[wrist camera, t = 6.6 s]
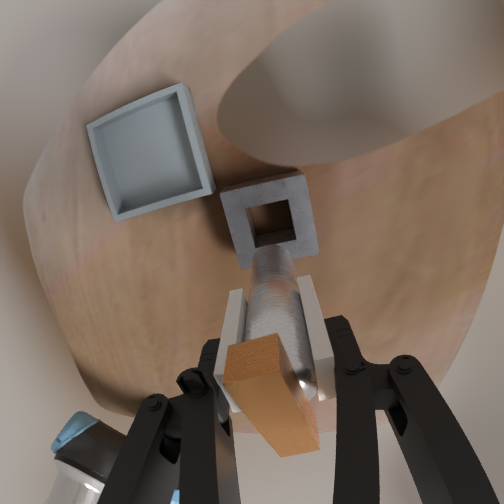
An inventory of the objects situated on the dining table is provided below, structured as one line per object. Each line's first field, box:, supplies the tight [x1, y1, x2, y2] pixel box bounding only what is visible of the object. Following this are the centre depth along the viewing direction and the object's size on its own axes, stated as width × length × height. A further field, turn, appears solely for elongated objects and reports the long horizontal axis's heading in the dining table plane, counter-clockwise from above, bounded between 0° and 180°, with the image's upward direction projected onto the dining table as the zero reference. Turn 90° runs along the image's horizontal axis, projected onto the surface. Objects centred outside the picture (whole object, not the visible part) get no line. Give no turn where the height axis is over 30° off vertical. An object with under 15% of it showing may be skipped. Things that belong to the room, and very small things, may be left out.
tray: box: [86, 83, 216, 222], centre depth 29 cm, size 13×13×3 cm
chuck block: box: [219, 170, 319, 270], centre depth 31 cm, size 9×9×4 cm
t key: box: [222, 245, 320, 457], centre depth 15 cm, size 6×3×14 cm, turn 21°
